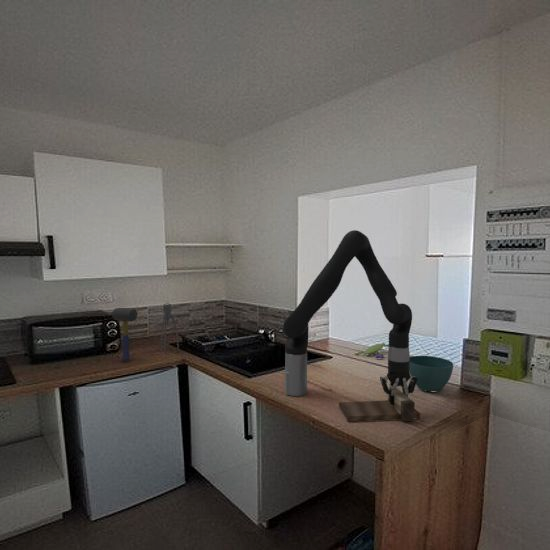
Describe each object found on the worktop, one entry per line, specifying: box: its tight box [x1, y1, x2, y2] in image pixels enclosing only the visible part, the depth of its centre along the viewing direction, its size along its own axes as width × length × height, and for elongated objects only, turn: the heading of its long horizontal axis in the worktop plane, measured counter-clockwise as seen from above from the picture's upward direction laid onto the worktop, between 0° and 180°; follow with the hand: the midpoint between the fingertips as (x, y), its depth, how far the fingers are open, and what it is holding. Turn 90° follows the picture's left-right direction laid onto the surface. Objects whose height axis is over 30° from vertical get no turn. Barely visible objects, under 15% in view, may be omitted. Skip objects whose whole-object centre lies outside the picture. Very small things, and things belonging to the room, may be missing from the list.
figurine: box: [356, 342, 389, 359], centre depth 210 cm, size 18×27×6 cm
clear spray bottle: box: [160, 302, 180, 355], centre depth 217 cm, size 10×11×30 cm
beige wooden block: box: [387, 388, 416, 422], centre depth 130 cm, size 4×14×6 cm, turn 5°
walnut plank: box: [338, 399, 421, 422], centre depth 131 cm, size 26×12×2 cm, turn 95°
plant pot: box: [409, 355, 454, 392], centre depth 154 cm, size 18×18×12 cm
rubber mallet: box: [111, 307, 138, 362], centre depth 198 cm, size 12×8×30 cm, turn 70°
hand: (398, 403), depth 131 cm, fingers closed on beige wooden block, 4 cm apart
